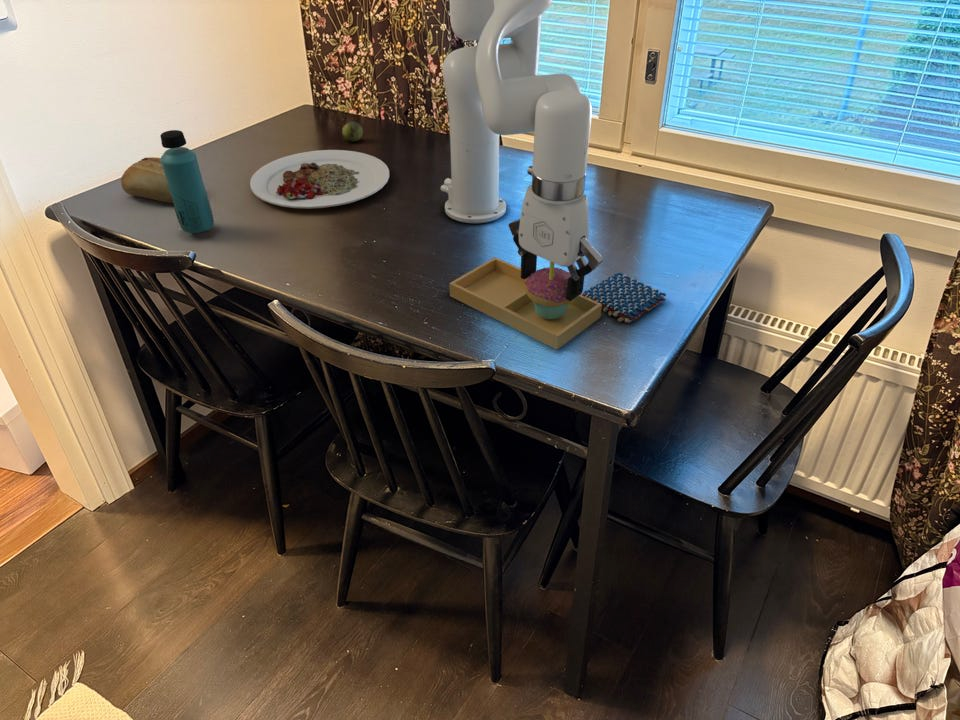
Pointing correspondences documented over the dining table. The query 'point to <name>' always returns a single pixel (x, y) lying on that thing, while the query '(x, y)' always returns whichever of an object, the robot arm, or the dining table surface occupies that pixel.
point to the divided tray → (520, 303)
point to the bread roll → (147, 180)
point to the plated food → (319, 179)
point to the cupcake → (549, 291)
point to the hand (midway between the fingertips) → (550, 285)
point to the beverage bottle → (185, 184)
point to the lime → (352, 131)
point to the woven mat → (625, 297)
